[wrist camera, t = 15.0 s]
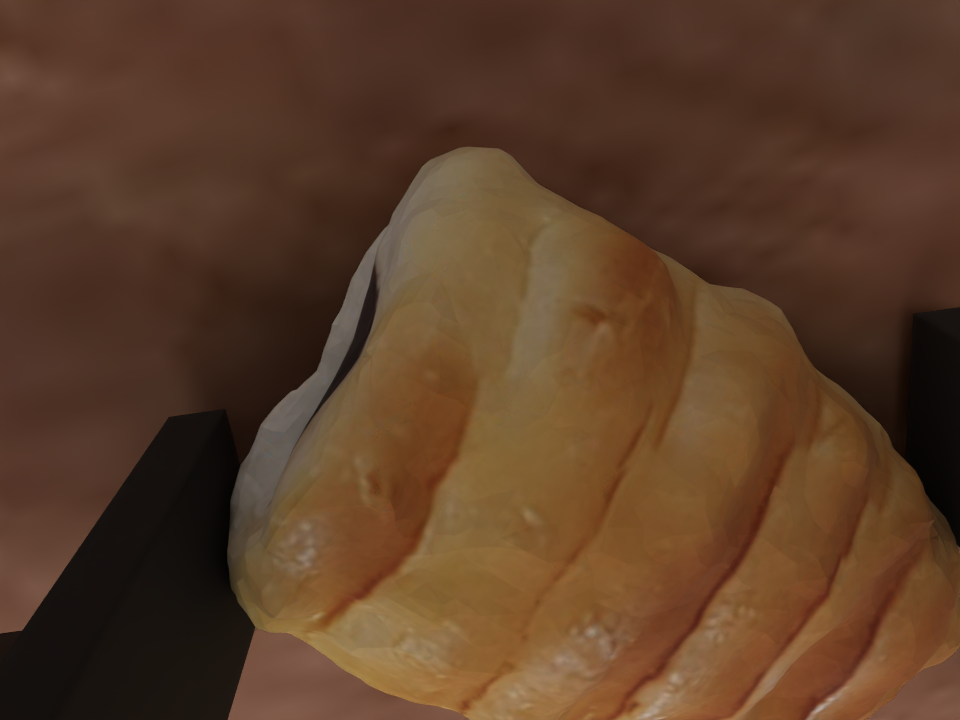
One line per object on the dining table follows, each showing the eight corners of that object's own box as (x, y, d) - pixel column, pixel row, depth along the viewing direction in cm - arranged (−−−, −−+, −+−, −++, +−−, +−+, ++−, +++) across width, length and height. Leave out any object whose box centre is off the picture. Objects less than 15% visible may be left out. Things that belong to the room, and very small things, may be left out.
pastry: (1008, 423, 12) (1239, 584, 9) (740, 751, 14) (839, 990, 11) (422, 96, 10) (412, 134, 7) (207, 528, 12) (113, 731, 9)
